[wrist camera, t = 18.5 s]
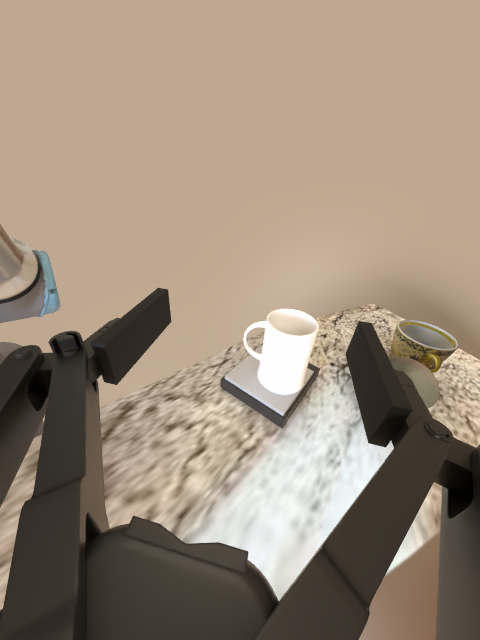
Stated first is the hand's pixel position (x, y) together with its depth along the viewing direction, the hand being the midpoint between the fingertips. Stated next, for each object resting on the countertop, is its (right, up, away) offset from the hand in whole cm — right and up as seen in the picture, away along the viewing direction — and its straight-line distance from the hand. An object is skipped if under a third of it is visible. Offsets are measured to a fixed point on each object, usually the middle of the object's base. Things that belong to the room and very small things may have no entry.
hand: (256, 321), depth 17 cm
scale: (+5, -12, +29) cm, 32 cm away
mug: (+5, -10, +27) cm, 29 cm away
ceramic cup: (+34, -12, +33) cm, 49 cm away
